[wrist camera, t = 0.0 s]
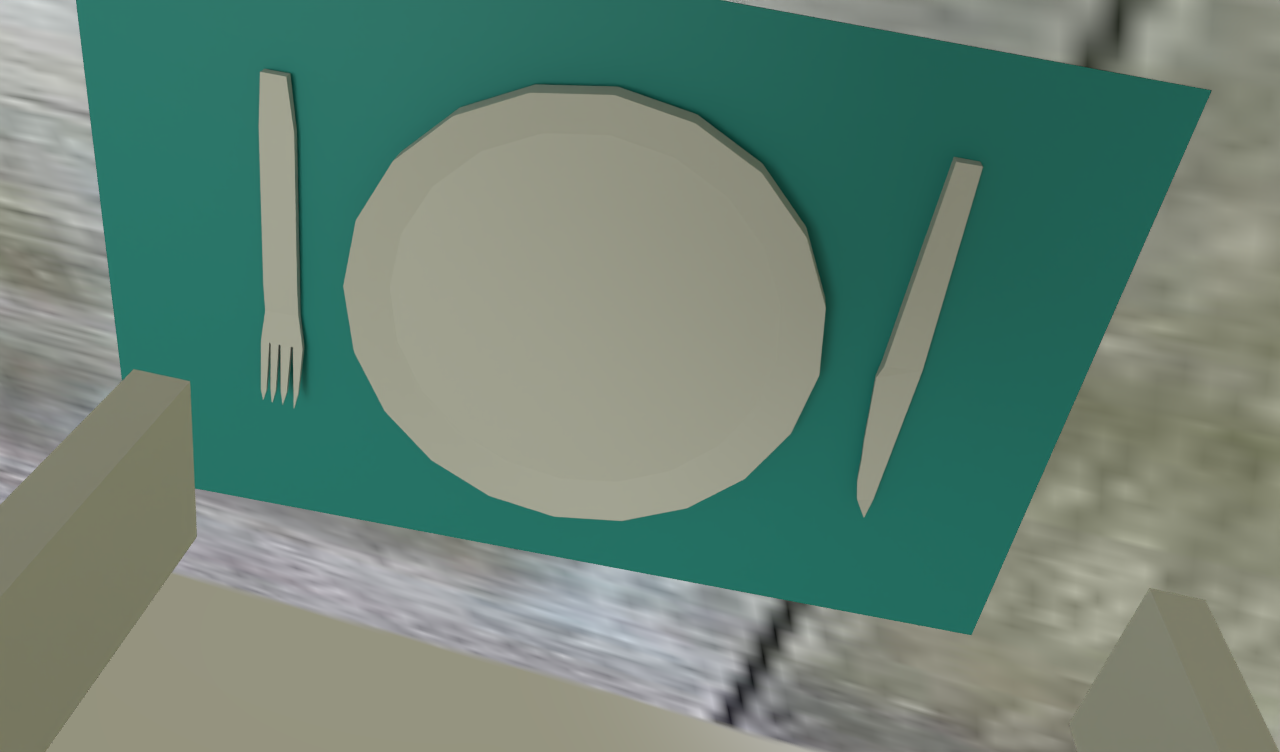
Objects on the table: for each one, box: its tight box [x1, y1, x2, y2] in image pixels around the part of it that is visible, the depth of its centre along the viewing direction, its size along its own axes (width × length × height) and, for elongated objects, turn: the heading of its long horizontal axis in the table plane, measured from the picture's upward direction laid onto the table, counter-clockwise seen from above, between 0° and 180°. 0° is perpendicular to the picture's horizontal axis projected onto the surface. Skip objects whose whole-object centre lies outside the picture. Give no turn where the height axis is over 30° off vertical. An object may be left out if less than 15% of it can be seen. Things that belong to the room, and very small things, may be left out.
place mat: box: [76, 0, 1212, 635], centre depth 46 cm, size 45×30×2 cm
